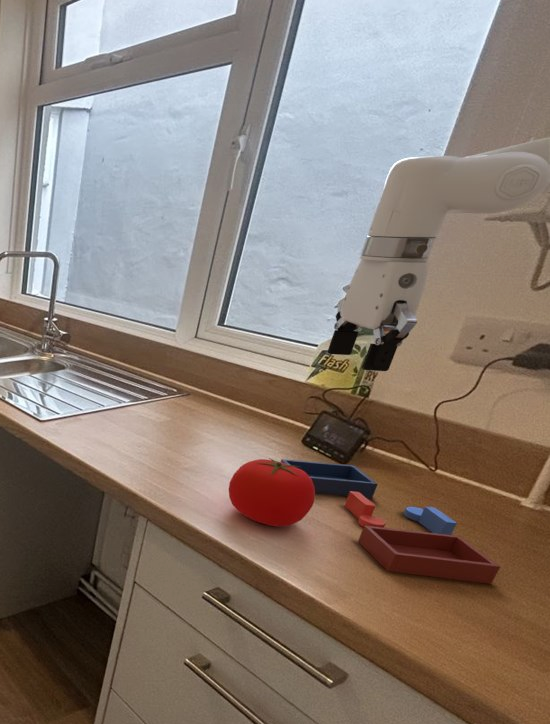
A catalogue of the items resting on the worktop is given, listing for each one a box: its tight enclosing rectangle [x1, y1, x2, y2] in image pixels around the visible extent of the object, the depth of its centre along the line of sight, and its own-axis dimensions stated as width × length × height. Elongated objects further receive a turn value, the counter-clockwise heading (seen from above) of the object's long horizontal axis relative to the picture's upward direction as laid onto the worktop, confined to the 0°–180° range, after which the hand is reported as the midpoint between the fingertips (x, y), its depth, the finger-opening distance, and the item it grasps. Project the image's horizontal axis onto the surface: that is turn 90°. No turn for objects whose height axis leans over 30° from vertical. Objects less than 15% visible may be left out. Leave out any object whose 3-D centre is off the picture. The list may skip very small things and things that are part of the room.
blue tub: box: [280, 458, 379, 499], centre depth 100 cm, size 12×8×3 cm, turn 76°
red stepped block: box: [344, 491, 386, 528], centre depth 89 cm, size 8×3×3 cm, turn 166°
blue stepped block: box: [403, 506, 458, 535], centre depth 87 cm, size 8×3×3 cm, turn 167°
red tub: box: [357, 526, 501, 585], centre depth 78 cm, size 12×8×3 cm, turn 76°
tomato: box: [228, 457, 316, 527], centre depth 88 cm, size 11×12×10 cm
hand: (355, 361), depth 84 cm, fingers open, 9 cm apart
